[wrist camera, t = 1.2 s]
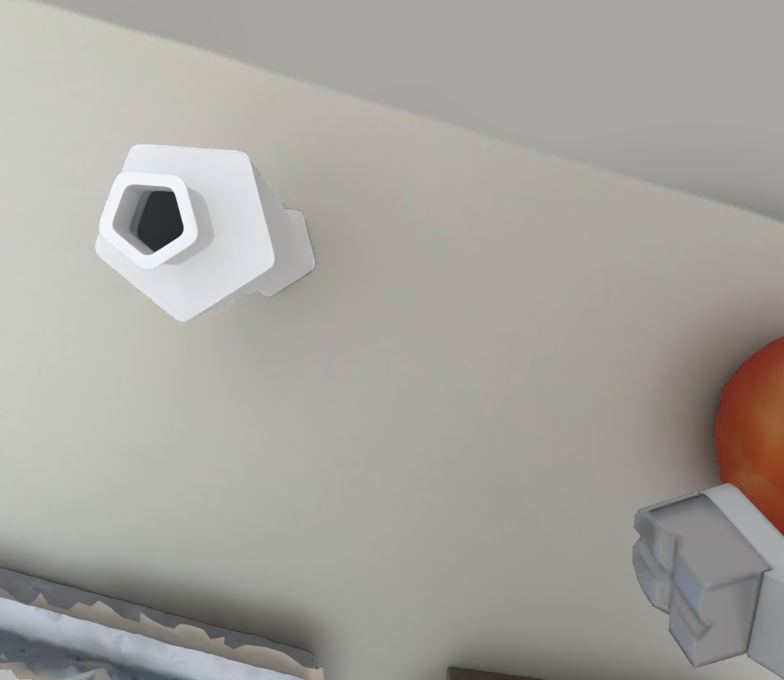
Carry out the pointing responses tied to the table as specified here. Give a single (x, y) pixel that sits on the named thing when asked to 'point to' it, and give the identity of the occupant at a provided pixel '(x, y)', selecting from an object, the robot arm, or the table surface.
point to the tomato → (755, 432)
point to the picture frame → (128, 640)
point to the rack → (478, 675)
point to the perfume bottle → (200, 229)
